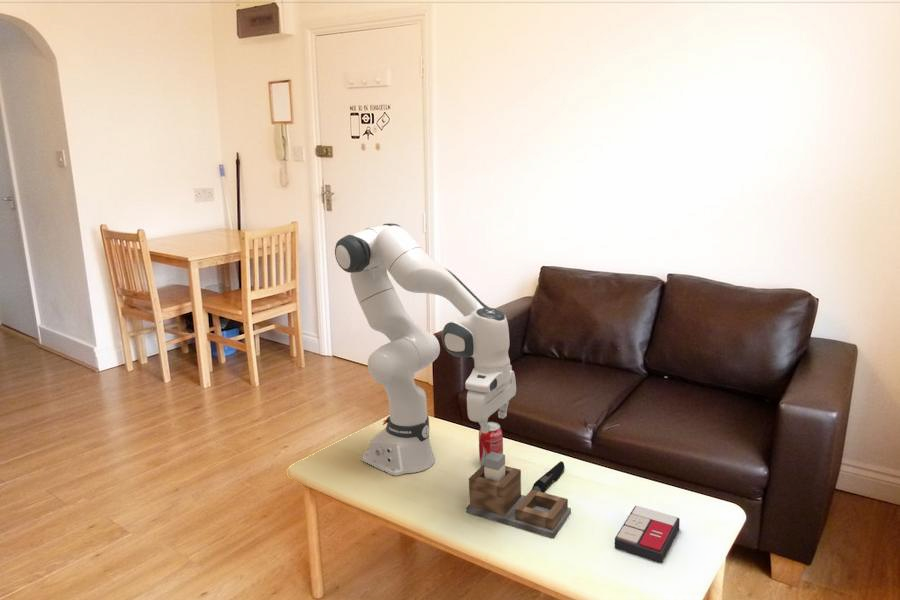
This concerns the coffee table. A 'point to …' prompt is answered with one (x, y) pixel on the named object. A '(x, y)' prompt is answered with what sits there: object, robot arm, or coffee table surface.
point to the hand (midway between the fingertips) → (494, 424)
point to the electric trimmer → (548, 477)
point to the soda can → (490, 441)
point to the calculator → (647, 534)
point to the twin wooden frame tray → (516, 503)
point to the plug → (494, 466)
